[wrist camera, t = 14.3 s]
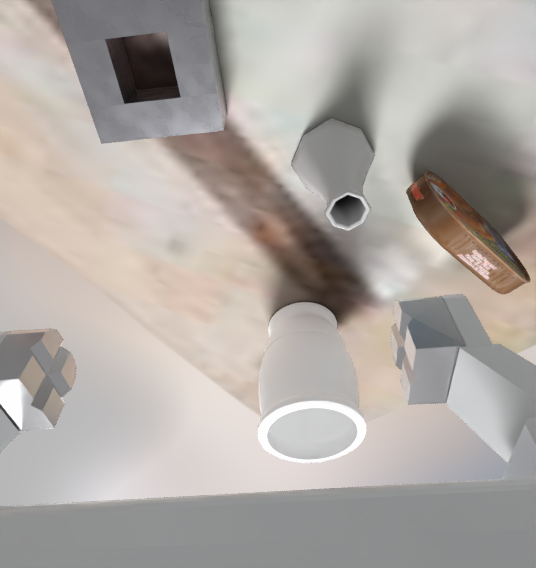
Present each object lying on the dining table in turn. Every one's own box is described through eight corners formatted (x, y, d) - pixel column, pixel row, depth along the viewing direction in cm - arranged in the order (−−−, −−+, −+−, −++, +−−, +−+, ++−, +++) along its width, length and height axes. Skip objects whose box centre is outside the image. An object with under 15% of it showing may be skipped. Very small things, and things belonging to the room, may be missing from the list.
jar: (306, 366, 58) (316, 475, 46) (242, 332, 54) (235, 441, 42) (363, 319, 53) (390, 429, 41) (297, 278, 49) (307, 386, 37)
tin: (509, 242, 46) (549, 293, 39) (483, 261, 47) (518, 313, 41) (417, 155, 40) (447, 198, 33) (391, 180, 42) (414, 225, 35)
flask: (277, 165, 41) (279, 219, 33) (330, 101, 37) (347, 144, 29) (333, 208, 43) (348, 267, 36) (388, 152, 40) (418, 204, 32)
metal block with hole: (204, -27, 32) (197, -23, 28) (227, 114, 38) (223, 130, 35) (71, -9, 32) (50, -3, 29) (115, 127, 38) (101, 143, 35)
